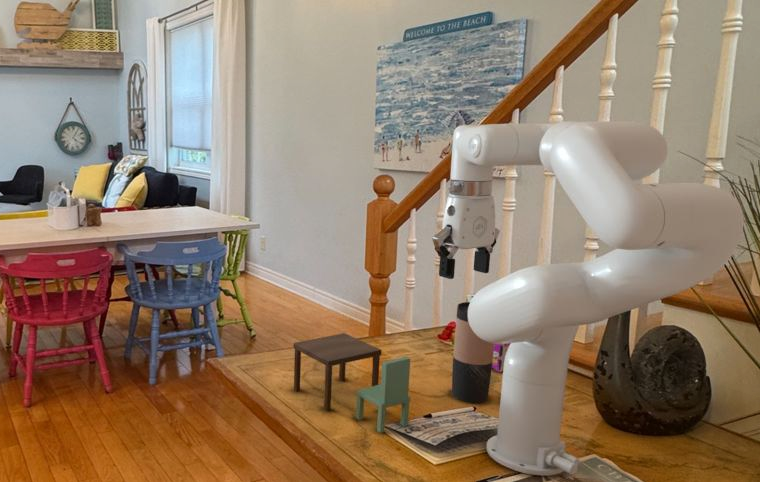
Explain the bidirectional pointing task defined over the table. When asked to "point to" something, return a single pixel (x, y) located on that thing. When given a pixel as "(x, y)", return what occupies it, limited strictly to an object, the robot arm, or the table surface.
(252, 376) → the table surface
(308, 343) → the side table
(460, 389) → the travel mug
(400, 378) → the chair
